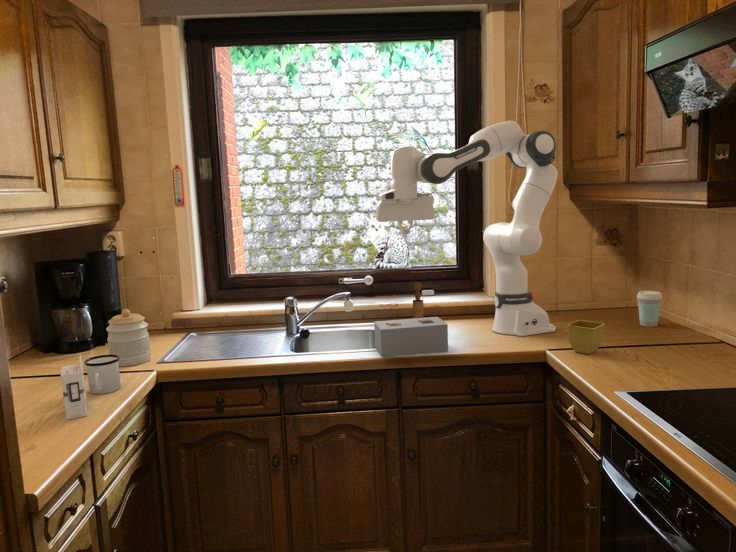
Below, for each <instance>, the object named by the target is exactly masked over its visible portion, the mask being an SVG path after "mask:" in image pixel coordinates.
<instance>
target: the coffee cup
mask: <svg viewBox="0 0 736 552" xmlns="http://www.w3.org/2000/svg"><path fill="white" fill-rule="evenodd" d="M636 299H637V307H638V316H639V317H638V318H639V325H640V326H642V327H652V328H653V327H657V326H658V325H659V319H660V312H661V305H662V299H663V295H662V292H660V291H657V290H641V291H638V293H637V295H636Z"/></svg>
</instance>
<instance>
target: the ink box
mask: <svg viewBox="0 0 736 552" xmlns="http://www.w3.org/2000/svg"><path fill="white" fill-rule="evenodd" d="M78 360H79V361H78V362H79V364H71V365H65V366H62V367H61V371H60V381H61V387H62V395H63V402H64V403H63V404H64V411H65V418H66V419H65V420H67V421H68V420H72V419H78V418H79V419H80V418H83V417H84V418H85V417H87V416H88V402H87V400H88V399H87V394H86V393H87V392H86V385H85V383H86V382H85V377H84V369H83V367H84V366H83V361H82V356H81V353H79V358H78Z"/></svg>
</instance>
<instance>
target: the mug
mask: <svg viewBox="0 0 736 552" xmlns="http://www.w3.org/2000/svg"><path fill="white" fill-rule="evenodd" d="M119 360H120V356H118V355H109V354H102V355H101V354H100V355H96V356H92V357H89V358H87V359H85V360H84V361H83V364H84V365H85V366H86V372H87V381H88V390H89V393H91V394H93V395H105V394H110V393H113V392H116V391H117V390H119V389H120V388H121V387H122V383H121V375H120V366H119V364H118V361H119Z"/></svg>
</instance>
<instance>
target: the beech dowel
mask: <svg viewBox="0 0 736 552" xmlns="http://www.w3.org/2000/svg"><path fill="white" fill-rule="evenodd" d="M388 326H400V322H389V323H388Z"/></svg>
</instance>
